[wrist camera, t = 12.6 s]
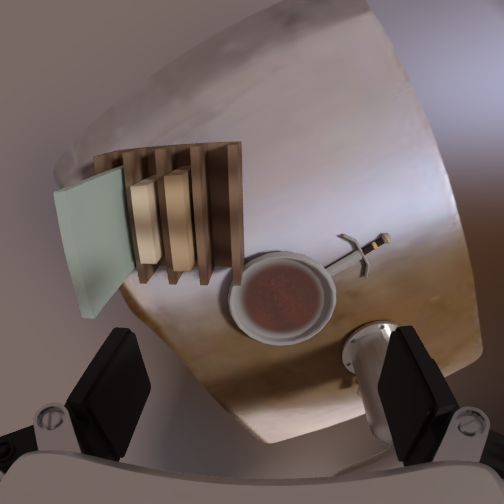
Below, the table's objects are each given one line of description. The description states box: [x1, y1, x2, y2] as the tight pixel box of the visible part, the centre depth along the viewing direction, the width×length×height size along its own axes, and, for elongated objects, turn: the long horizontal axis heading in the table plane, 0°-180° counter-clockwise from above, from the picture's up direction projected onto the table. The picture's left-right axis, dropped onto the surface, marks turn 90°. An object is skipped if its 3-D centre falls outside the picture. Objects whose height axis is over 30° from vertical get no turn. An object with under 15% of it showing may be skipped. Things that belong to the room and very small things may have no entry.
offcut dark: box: [164, 166, 198, 271], centre depth 41 cm, size 12×2×8 cm, turn 1°
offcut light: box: [130, 175, 165, 264], centre depth 41 cm, size 10×2×8 cm, turn 1°
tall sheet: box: [54, 165, 137, 319], centre depth 37 cm, size 14×2×18 cm, turn 1°
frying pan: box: [227, 233, 391, 346], centre depth 49 cm, size 17×3×28 cm
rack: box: [93, 142, 245, 286], centre depth 42 cm, size 18×19×7 cm
